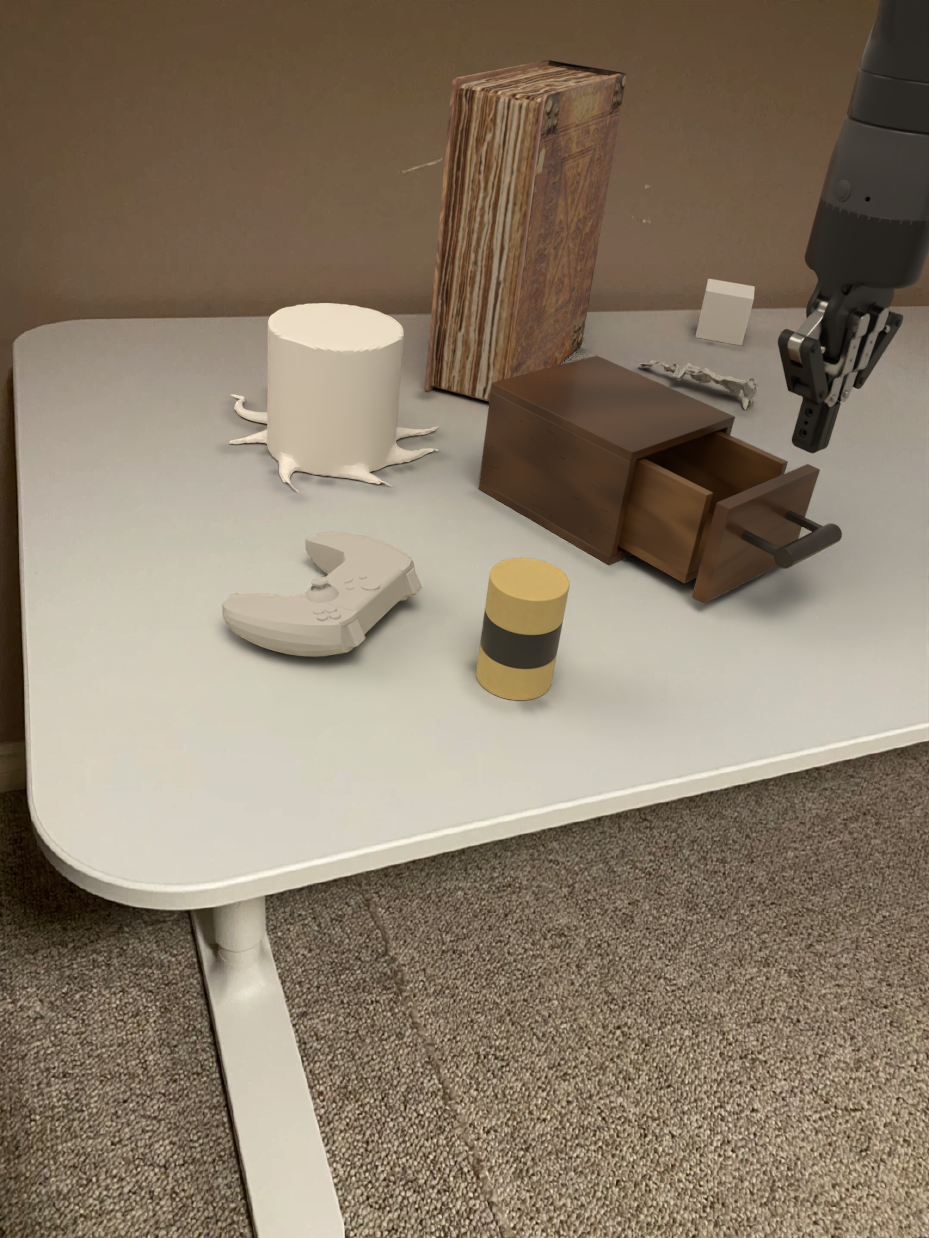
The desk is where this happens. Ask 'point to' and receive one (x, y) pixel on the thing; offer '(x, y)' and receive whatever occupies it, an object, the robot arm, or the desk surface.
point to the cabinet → (583, 445)
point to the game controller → (328, 598)
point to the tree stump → (333, 392)
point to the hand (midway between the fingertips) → (808, 447)
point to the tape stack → (521, 628)
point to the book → (519, 220)
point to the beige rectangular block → (725, 312)
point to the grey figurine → (708, 376)
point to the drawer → (721, 513)
